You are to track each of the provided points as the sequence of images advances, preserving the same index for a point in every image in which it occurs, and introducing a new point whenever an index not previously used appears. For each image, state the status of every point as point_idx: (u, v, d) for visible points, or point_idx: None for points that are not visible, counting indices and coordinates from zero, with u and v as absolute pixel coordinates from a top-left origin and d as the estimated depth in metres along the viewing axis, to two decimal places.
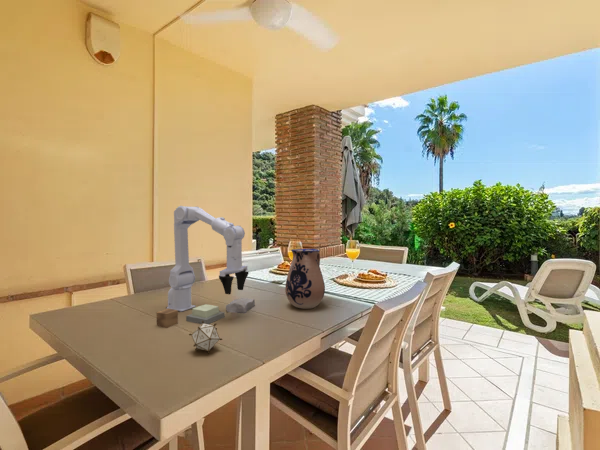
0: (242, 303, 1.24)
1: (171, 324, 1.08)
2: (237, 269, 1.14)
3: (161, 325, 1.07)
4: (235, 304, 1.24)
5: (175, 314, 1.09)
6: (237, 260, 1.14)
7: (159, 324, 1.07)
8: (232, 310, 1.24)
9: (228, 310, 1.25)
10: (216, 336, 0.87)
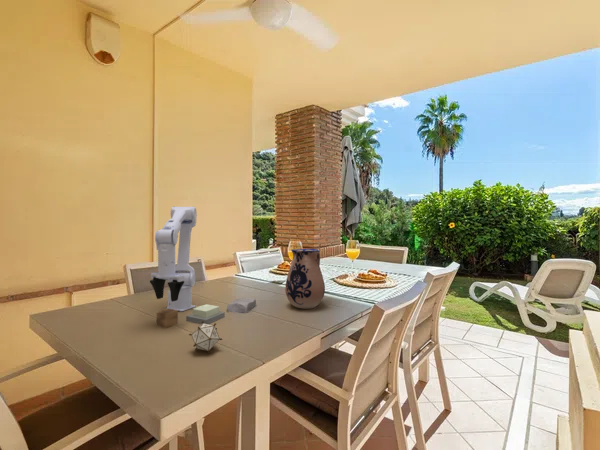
0: (243, 303, 1.24)
1: (171, 324, 1.08)
2: (157, 275, 1.07)
3: (161, 325, 1.07)
4: (236, 304, 1.24)
5: (175, 314, 1.09)
6: (158, 265, 1.07)
7: (159, 324, 1.07)
8: (233, 310, 1.24)
9: (229, 310, 1.24)
10: (216, 336, 0.87)
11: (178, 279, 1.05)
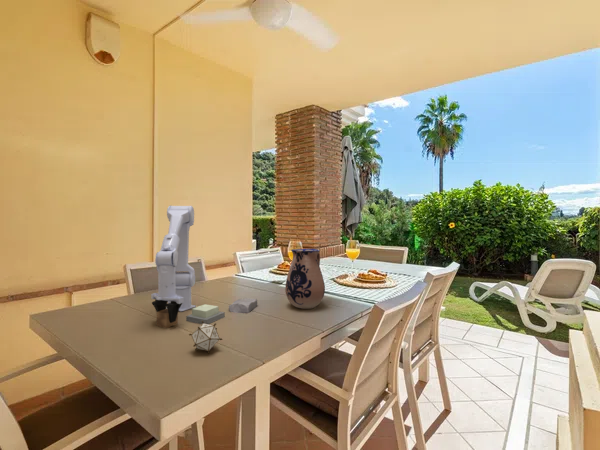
0: (245, 303, 1.24)
1: (171, 324, 1.08)
2: (158, 296, 1.07)
3: (161, 325, 1.07)
4: (238, 304, 1.24)
5: None
6: (158, 287, 1.07)
7: (159, 324, 1.07)
8: (235, 310, 1.24)
9: (231, 310, 1.24)
10: (216, 336, 0.87)
11: (178, 301, 1.05)
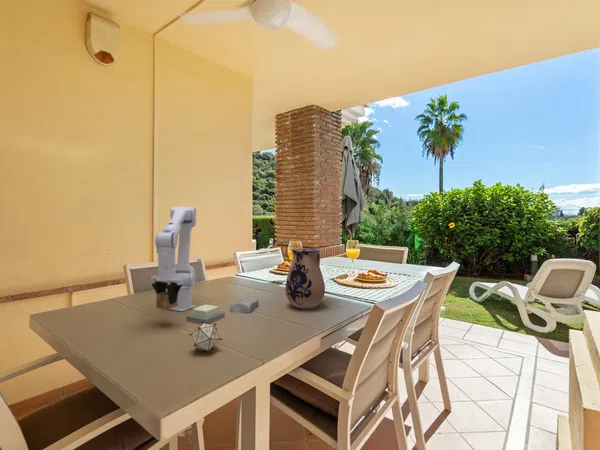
0: (246, 303, 1.24)
1: (171, 306, 1.08)
2: (158, 278, 1.07)
3: (161, 306, 1.07)
4: (239, 304, 1.24)
5: None
6: (158, 269, 1.07)
7: (159, 305, 1.07)
8: (236, 310, 1.24)
9: (232, 310, 1.24)
10: (216, 336, 0.87)
11: (178, 282, 1.05)
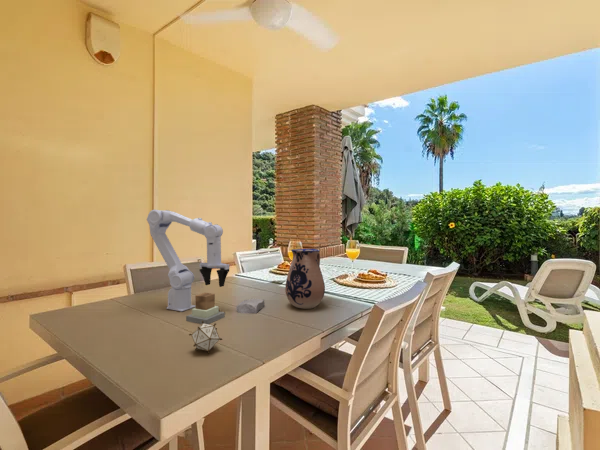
0: (253, 304, 1.23)
1: (209, 306, 1.14)
2: (207, 264, 1.25)
3: (200, 307, 1.13)
4: (246, 305, 1.23)
5: (212, 297, 1.16)
6: (207, 256, 1.25)
7: (198, 306, 1.14)
8: (243, 311, 1.23)
9: (239, 311, 1.23)
10: (216, 336, 0.87)
11: (225, 267, 1.22)
